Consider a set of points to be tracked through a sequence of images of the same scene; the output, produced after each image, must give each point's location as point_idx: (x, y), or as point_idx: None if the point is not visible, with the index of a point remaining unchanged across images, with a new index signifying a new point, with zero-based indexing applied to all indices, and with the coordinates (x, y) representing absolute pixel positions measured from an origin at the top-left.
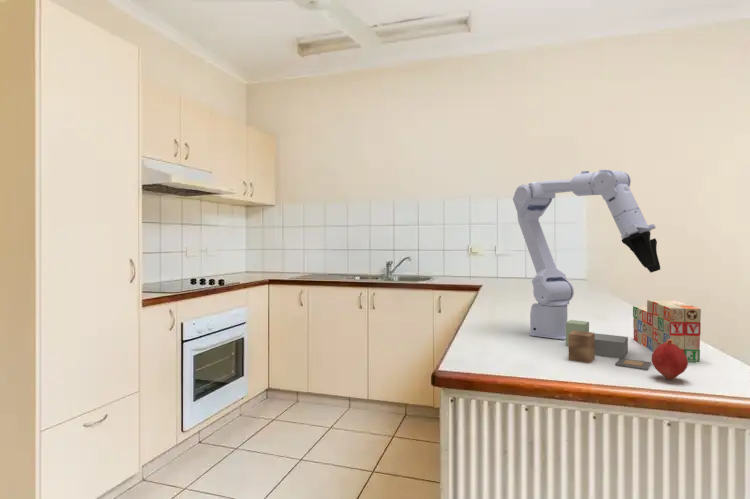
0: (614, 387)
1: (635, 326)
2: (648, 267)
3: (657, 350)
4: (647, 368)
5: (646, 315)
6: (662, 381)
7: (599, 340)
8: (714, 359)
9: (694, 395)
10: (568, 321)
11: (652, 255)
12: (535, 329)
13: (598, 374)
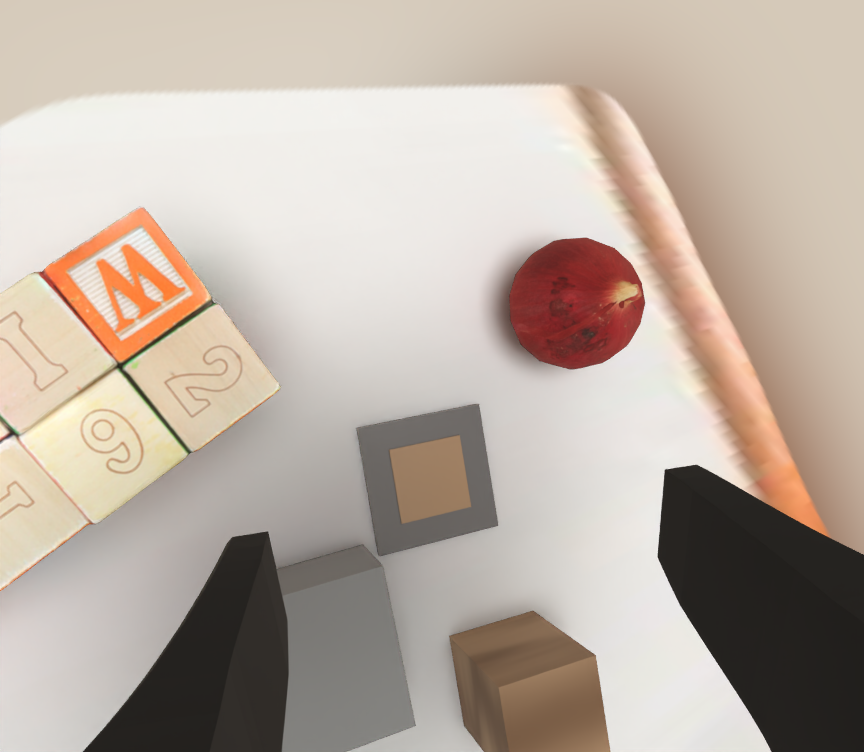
0: (739, 416)
1: None
2: (283, 670)
3: (630, 337)
4: (472, 407)
5: None
6: None
7: (405, 679)
8: (22, 221)
9: (652, 208)
10: None
11: (771, 510)
12: None
13: (649, 514)
